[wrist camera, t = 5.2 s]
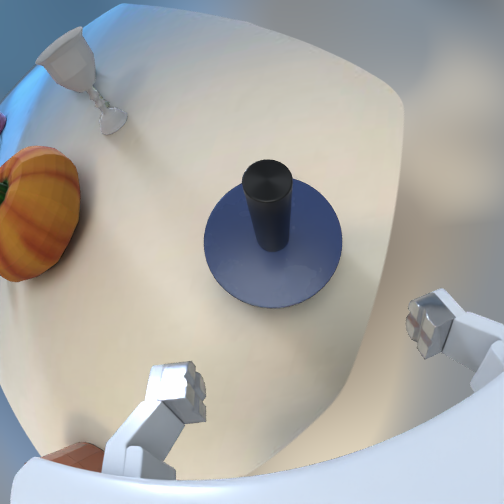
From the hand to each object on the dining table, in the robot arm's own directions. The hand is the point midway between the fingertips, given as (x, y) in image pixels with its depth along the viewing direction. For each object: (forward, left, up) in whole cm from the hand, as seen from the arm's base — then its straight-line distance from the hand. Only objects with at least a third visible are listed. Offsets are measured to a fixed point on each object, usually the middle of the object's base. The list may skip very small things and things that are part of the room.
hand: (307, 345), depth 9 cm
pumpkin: (+36, +7, -18) cm, 41 cm away
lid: (+5, -6, -12) cm, 15 cm away
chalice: (+38, -12, -18) cm, 44 cm away
